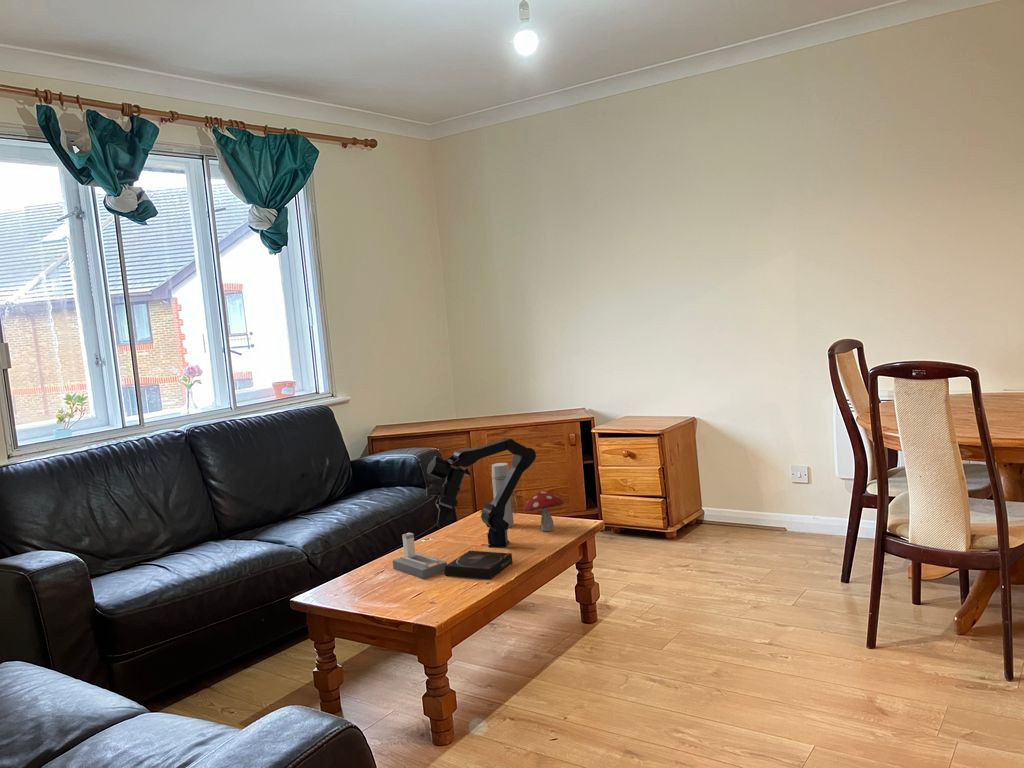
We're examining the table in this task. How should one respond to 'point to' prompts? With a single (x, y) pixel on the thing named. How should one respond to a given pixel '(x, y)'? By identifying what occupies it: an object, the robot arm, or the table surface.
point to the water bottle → (498, 478)
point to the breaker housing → (419, 565)
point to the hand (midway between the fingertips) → (438, 525)
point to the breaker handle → (408, 545)
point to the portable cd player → (478, 565)
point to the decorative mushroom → (544, 508)
